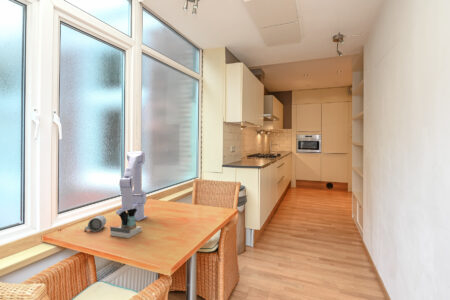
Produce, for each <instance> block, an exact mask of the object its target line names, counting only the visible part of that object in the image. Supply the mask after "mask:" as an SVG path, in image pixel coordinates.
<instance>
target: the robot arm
mask: <svg viewBox="0 0 450 300" xmlns="http://www.w3.org/2000/svg"><path fill="white" fill-rule="evenodd" d="M145 155H146V153H145V151H143V150H140V151H138V150H137V151H130V150H129V151H128V152H127V154H126V159H127V161H128V165H127V167H126V168H125V169H124V173H123V175H122V177H121V178H120V179H119V185H118V186H119V189H120V190H119V191H120V192H121V193H120V194H121V207H120V208H119V209H117V210H115V214H116V215H117V216H119V217H120V219H121V220H122V222H121V224H122V223H123V225H127V219H128V216H135V221H137V222H139V221H142V220H143V219H146V218H148V215H145V204H147V192H146V191H145V190H143V189H142V181H143V180H142V175H143V173H142V172H143V171H142V167H143V165H144V164H145V162H146V156H145Z"/></svg>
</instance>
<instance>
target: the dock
mask: <svg viewBox="0 0 450 300" xmlns="http://www.w3.org/2000/svg"><path fill="white" fill-rule="evenodd" d="M109 229H110V236H113V237H118V238H125V239H129V238H131V237H134V236H136V235H137V234H139V233H140V232H142V226H140V225H136V228H134V229H132V230H130V229H126V228H121V225H120V226H118V227H117V226H110V228H109Z"/></svg>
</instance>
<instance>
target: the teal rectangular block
mask: <svg viewBox="0 0 450 300" xmlns="http://www.w3.org/2000/svg"><path fill="white" fill-rule="evenodd" d="M120 226H121V228H126V229H130V230H132V229H134V228H136V226H137V224H136V220H135V216H128V219H127V225H123V223H122V220H121V225H120Z"/></svg>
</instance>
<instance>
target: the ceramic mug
mask: <svg viewBox="0 0 450 300" xmlns="http://www.w3.org/2000/svg"><path fill="white" fill-rule="evenodd" d="M106 223H107V219H106V217H105V216H104V215H101V214H100V215H99V214H98V215H96V216H94V217H92V218H91V219H90V220H89V221H88V223H87V226H85V227H84V231H88V230H89V231H91V232H93V233H95V232H98V231H100V230H101V229H102V228H104V227H105V225H106Z"/></svg>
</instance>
